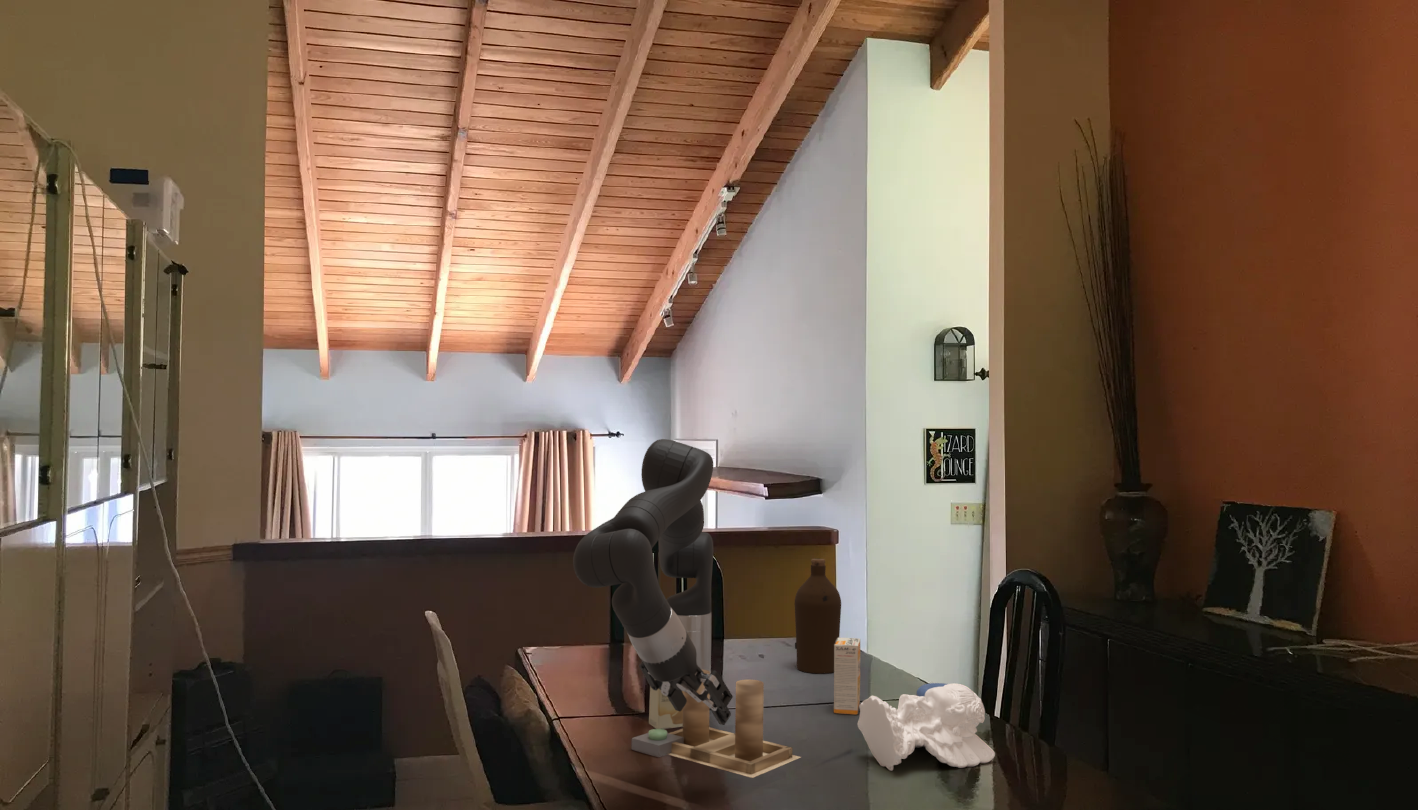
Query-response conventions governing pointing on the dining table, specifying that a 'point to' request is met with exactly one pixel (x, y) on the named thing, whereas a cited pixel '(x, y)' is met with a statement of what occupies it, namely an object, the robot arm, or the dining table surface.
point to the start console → (655, 742)
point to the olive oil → (817, 621)
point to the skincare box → (663, 712)
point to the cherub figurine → (926, 727)
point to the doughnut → (924, 688)
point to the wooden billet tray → (732, 754)
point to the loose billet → (749, 719)
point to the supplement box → (847, 675)
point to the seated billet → (696, 719)
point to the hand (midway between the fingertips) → (703, 713)
